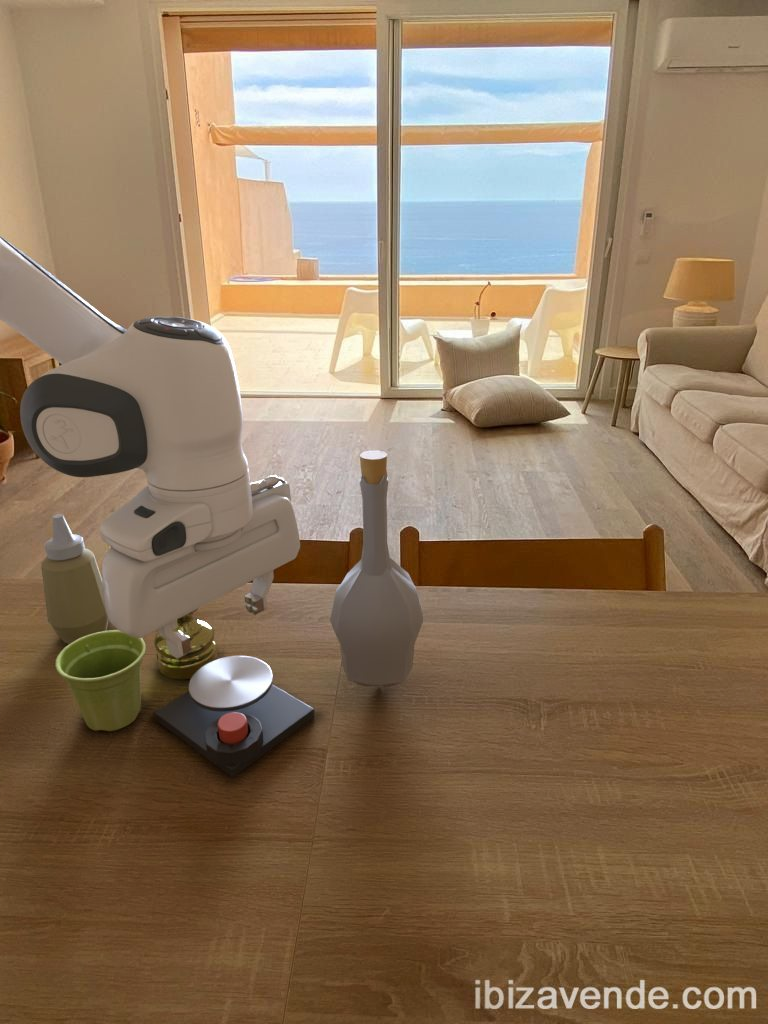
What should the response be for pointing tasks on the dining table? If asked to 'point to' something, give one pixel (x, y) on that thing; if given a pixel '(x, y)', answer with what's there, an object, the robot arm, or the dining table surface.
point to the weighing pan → (230, 683)
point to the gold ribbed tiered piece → (193, 660)
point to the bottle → (376, 595)
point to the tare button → (232, 728)
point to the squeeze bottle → (72, 585)
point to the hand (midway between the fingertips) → (220, 630)
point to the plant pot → (104, 677)
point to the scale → (264, 723)
